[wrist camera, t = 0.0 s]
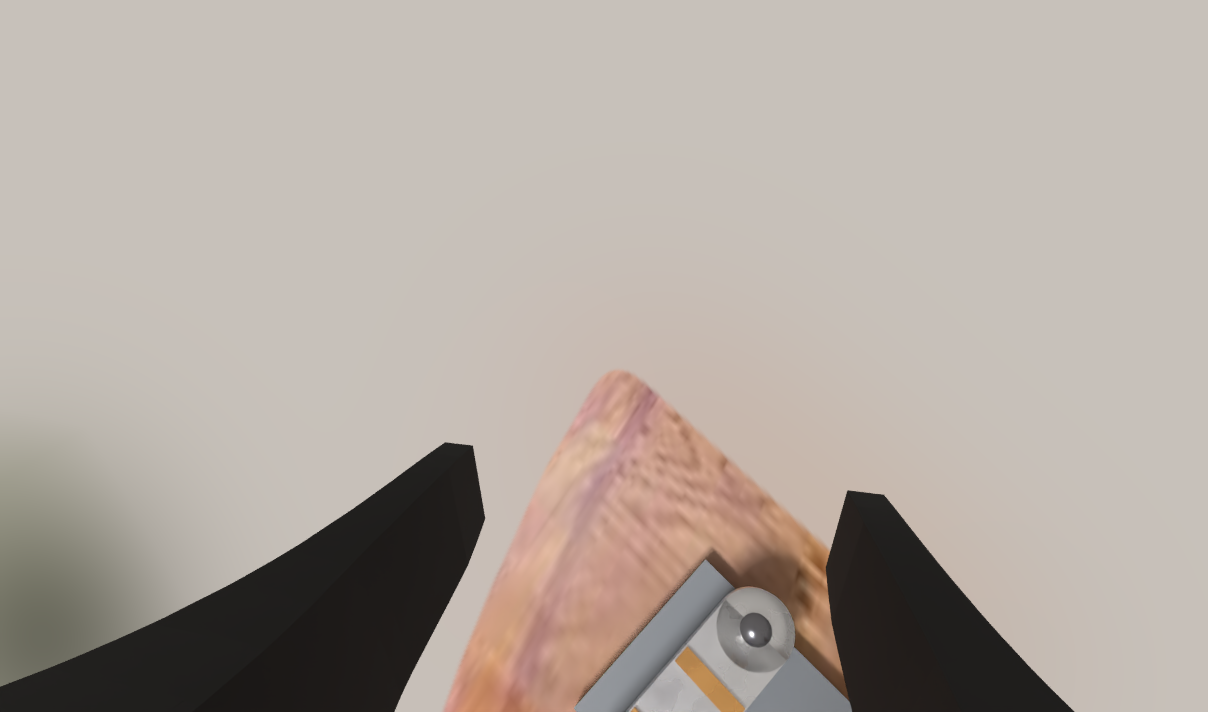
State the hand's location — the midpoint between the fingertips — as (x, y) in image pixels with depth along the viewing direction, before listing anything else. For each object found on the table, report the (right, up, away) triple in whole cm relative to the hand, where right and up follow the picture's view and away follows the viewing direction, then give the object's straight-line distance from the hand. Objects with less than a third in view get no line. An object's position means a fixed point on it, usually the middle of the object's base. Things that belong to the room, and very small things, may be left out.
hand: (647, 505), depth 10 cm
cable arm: (+6, -19, +25) cm, 32 cm away
